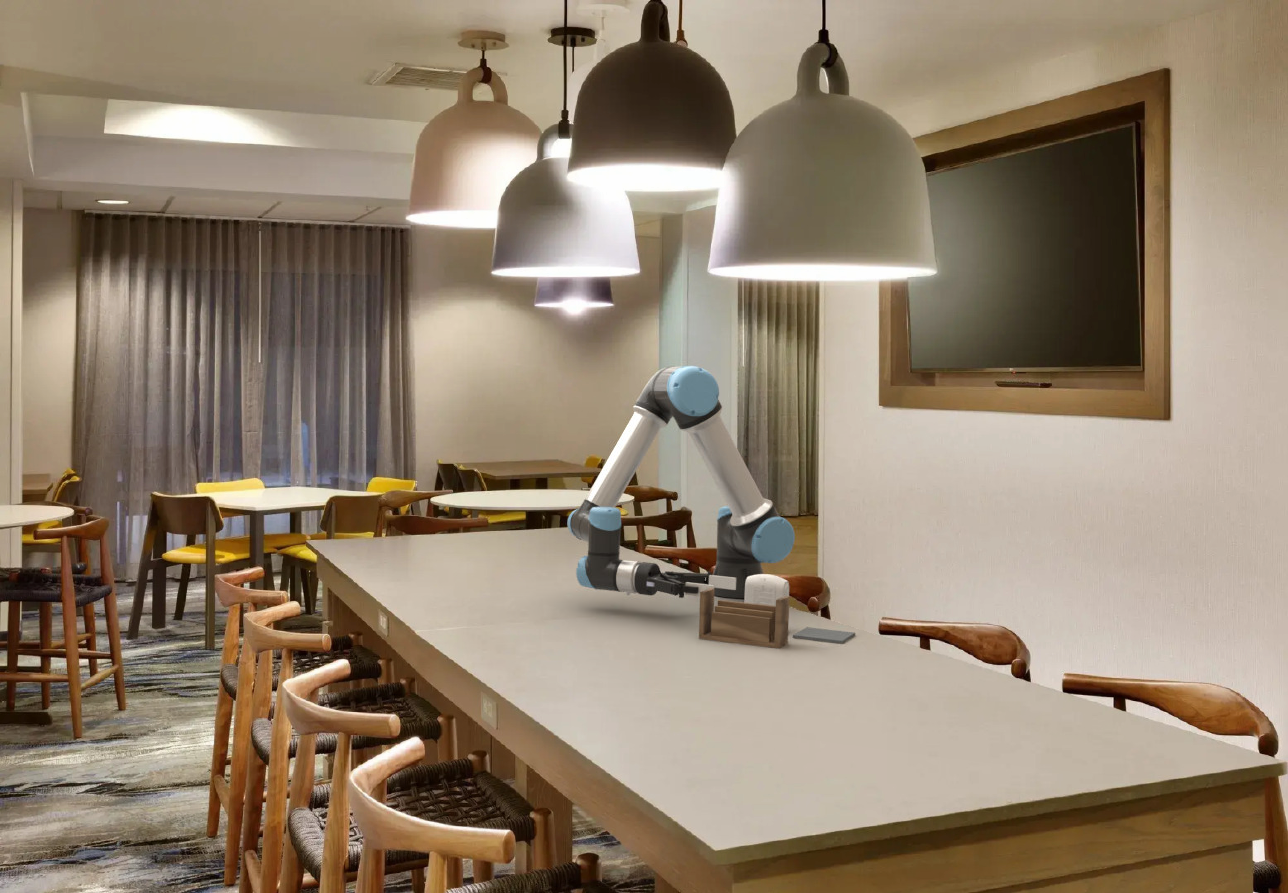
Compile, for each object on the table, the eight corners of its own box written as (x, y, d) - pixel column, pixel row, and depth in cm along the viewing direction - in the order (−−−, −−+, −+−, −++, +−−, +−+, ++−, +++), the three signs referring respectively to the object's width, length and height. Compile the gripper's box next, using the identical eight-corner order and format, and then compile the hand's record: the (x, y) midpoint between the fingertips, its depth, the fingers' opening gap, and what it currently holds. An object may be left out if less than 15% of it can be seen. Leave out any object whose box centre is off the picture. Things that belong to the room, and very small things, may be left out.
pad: (807, 629, 268) (807, 627, 268) (855, 635, 263) (855, 632, 263) (792, 637, 259) (792, 635, 259) (842, 643, 254) (842, 640, 254)
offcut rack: (708, 633, 261) (710, 588, 260) (787, 643, 253) (789, 596, 252) (698, 638, 255) (700, 591, 255) (779, 648, 248) (780, 600, 247)
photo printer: (790, 631, 266) (792, 575, 265) (783, 634, 262) (784, 578, 262) (748, 625, 271) (750, 571, 271) (740, 628, 267) (742, 573, 267)
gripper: (661, 587, 291) (743, 596, 282) (614, 601, 268) (702, 612, 259) (662, 556, 291) (744, 564, 281) (616, 568, 268) (703, 577, 259)
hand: (724, 587), depth 270 cm, fingers open, 13 cm apart
